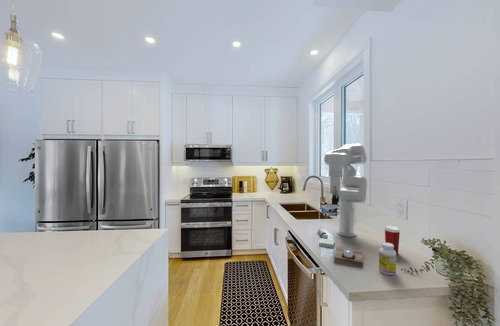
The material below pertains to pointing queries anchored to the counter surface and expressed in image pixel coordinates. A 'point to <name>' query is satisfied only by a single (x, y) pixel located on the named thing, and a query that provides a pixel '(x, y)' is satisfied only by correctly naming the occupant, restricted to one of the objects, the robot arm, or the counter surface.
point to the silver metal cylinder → (348, 254)
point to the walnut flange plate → (340, 258)
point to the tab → (327, 243)
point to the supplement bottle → (387, 259)
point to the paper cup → (392, 236)
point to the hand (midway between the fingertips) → (335, 203)
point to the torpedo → (322, 233)
